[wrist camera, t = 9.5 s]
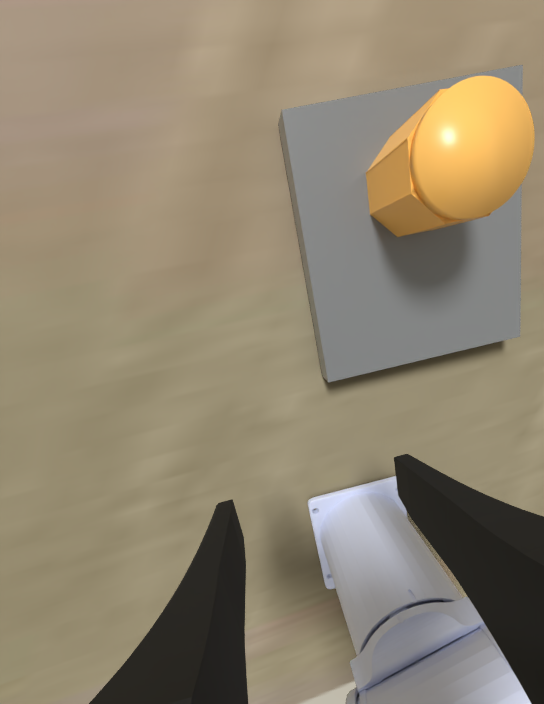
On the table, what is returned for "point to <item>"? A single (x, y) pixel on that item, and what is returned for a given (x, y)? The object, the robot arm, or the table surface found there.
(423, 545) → the robot arm
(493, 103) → the orange acorn nut
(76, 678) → the table surface
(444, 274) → the plate
